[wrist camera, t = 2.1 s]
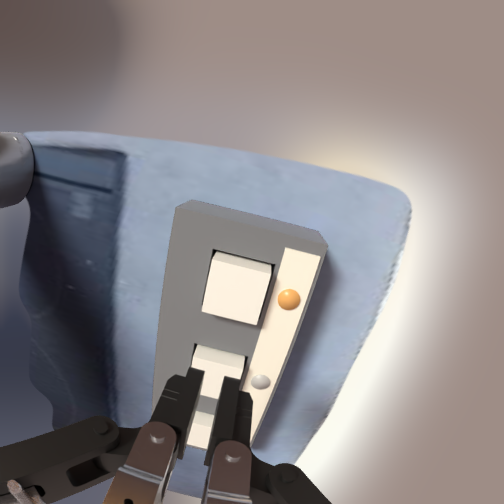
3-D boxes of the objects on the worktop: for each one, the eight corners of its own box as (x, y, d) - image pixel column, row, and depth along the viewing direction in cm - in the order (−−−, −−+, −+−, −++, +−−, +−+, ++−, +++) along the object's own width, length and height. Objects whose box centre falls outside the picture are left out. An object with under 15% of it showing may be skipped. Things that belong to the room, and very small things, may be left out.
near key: (257, 309, 26) (256, 325, 23) (208, 296, 26) (201, 311, 23) (271, 262, 24) (271, 274, 22) (218, 248, 24) (212, 259, 22)
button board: (248, 430, 35) (245, 460, 30) (161, 409, 35) (150, 437, 30) (318, 231, 27) (329, 246, 22) (191, 199, 27) (174, 207, 22)
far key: (220, 434, 31) (217, 451, 28) (184, 425, 31) (179, 441, 28) (227, 412, 30) (224, 430, 27) (188, 402, 30) (182, 419, 27)
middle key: (235, 383, 28) (232, 402, 26) (193, 373, 28) (187, 391, 26) (245, 350, 27) (243, 369, 24) (199, 339, 27) (193, 356, 24)
